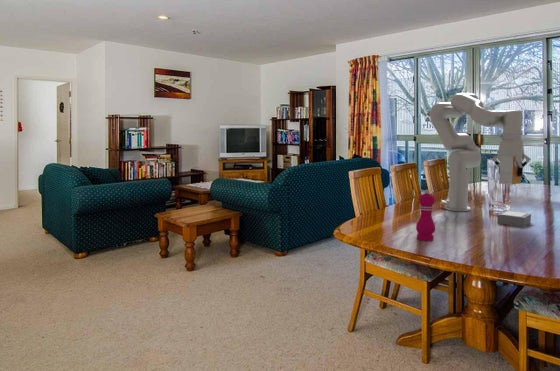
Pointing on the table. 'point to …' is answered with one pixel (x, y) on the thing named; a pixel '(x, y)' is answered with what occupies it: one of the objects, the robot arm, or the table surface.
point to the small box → (509, 171)
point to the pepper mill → (426, 218)
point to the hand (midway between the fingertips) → (510, 175)
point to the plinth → (514, 218)
